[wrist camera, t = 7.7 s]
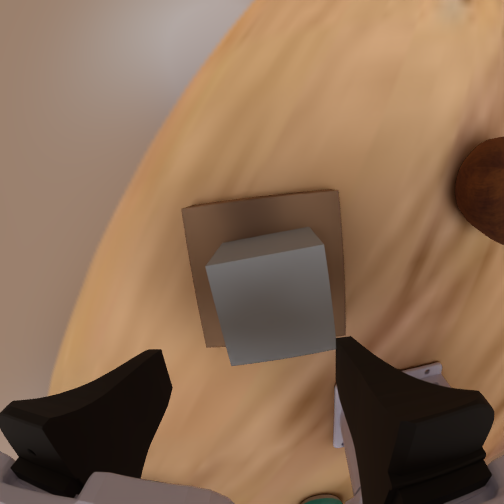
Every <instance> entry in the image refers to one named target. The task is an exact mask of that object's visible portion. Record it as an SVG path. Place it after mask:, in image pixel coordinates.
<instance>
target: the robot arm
mask: <svg viewBox="0 0 504 504" xmlns="http://www.w3.org/2000/svg"><path fill="white" fill-rule="evenodd" d="M426 370H428V371H426ZM425 371H426V372H425ZM441 371H442V365H441V364H440V363H439V362H437V363H433V364H429V365H425V366H421V367H416V368H412V369H408V370H403V371H400V370H398V369H396V368H394V367H393V366H391V365H389V364H388V363H386V362H384V361H383V360H381V359H380V358H378V357H377V356H375V355H374V354H373V353H371V352H370V351H369V350H367V349H366V348H365V347H364V346H362V345H361V344H360V343H359V342H357V341H356V340H355V339H354V338H352V337H351V336H349V337H341V338H336V385H335V387H334V431H333V446H334V447H335V448H341V447H344V448H345V453H346V458H347V463H348V468H349V473H350V478H351V483H352V489H353V494H354V497H353V498H351V499H350V500H348V501H346V502H345V503H346V504H504V455H502V456H500V457H498V458H496V459H495V460H493V461H492V462H491V463H490V464H489V465H488V466H487V465H486V464H485V461H484V460H483V459H485V457H486V453H485V451H484V449H483V448H482V446H483V444H484V442H485V440H486V438H487V436H488V434H489V432H490V429H491V427H492V424H493V421H494V410H493V408H492V407H491V405H490V404H489V403H488V401H487V400H486V399H485V398H484V396H483V395H482V394H481V393H480V392H479V391H474V390H463V389H455V388H451V387H450V385H449V384H448V383H447V381H446V380H445V378H444V377H443V376H442V374H441ZM172 388H173V387H172V384H171V381H170V378H169V374H168V371H167V368H166V364H165V361H164V357H163V354H162V350H161V349H149V350H146V351H144V352H142V353H141V354H139V355H137V356H136V357H134V358H132V359H131V360H129V361H127V362H126V363H124V364H122V365H121V366H119V367H118V368H116V369H114V370H112V371H111V372H109V373H107V374H105V375H103V376H102V377H100V378H98V379H96V380H94V381H92V382H90V383H88V384H85V385H83V386H80V387H78V388H75V389H72V390H69V391H66V392H63V393H60V394H56V395H52V396H48V397H43V398H37V399H30V400H19V401H12V402H11V403H10V404H9V405H8V406H7V407H6V408H5V409H4V410H3V411H2V412H1V413H0V429H1V431H2V432H3V434H4V436H5V437H6V439H7V440H8V442H9V443H10V445H11V446H12V447H13V449H14V450H15V452H16V453H17V455H18V456H19V458H18V459H17V460H16V461H15V460H14V459H13V458H11V457H10V456H8V455H6V454H4V453H2V452H1V451H0V504H234V503H233V502H232V501H231V500H230V499H229V498H228V497H226V496H224V495H221V494H219V493H217V492H215V491H212V490H209V489H204V488H199V487H194V486H189V485H179V484H171V483H164V482H157V481H151V480H145V479H140V478H141V474H142V470H143V466H144V463H145V459H146V456H147V452H148V449H149V447H150V444H151V442H152V440H153V438H154V435H155V433H156V431H157V429H158V427H159V424H160V422H161V420H162V418H163V416H164V413H165V411H166V409H167V406H168V403H169V400H170V396H171V392H172Z"/></svg>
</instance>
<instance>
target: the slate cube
mask: <svg viewBox="0 0 504 504" xmlns="http://www.w3.org/2000/svg"><path fill="white" fill-rule="evenodd" d="M205 267H206V271H207V275H208V279H209V283H210V287H211V291H212V295H213V299H214V303H215V307H216V311H217V315H218V319H219V322H220V326H221V330H222V334H223V337H224V341H225V345H226V348H227V352H228V355H229V359H230V362H231V366H236V365H244V364H252V363H259V362H266V361H273V360H279V359H285V358H291V357H297V356H303V355H308V354H314V353H319V352H324V351H329V350H334V349H336V334H335V325H334V316H333V307H332V299H331V291H330V283H329V275H328V268H327V261H326V254H325V248H324V244H323V243H322V241H321V240H320V239H319V238H318V237H317V235H316V234H315V233H314V232H313V231H312V229H311V228H310V227H305V228H299V229H294V230H288V231H283V232H278V233H272V234H267V235H262V236H256V237H251V238H246V239H241V240H235V241H230V242H225V243H222V244H221V246H220V247H219V248H218V250H217V251H216V252H215V254H214V255H213V256H212V258H211V259H210V260H209V262H208V263H207V265H206V266H205Z"/></svg>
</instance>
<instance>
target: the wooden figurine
mask: <svg viewBox="0 0 504 504" xmlns="http://www.w3.org/2000/svg"><path fill="white" fill-rule="evenodd" d="M455 196H456V200H457V205H458V207H459V209H460V211H461V212H462V214H463V215H464V216H465V218H466V219H467V221H468V222H469V223H471V224H472V225H473V226H474V227H475V228H477V229H478V230H479V231H481V232H482V233H483V234H485V235H486V236H488V237H489V238H490V239H492V240H494V241H496V242H498V243H500V244H503V245H504V137H499V138H494V139H489V140H486V141H484V142H483V143H481V144H479V145H478V146H477V147H476V148H475V149H474V150H473V151H472V152H471V153H470V154H469V156H468V157H467V158H466V159H465V160H464V161H463V163H462V165H461V167H460V169H459V171H458V176H457V180H456V188H455Z"/></svg>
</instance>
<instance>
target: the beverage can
mask: <svg viewBox="0 0 504 504" xmlns="http://www.w3.org/2000/svg"><path fill="white" fill-rule="evenodd" d="M302 504H343V503H342V502H341V501H340V499H339V498H338V497H336V496H334V495H317V496H313V497H310V498H308V499H306V500H305V501H304V502H303V503H302Z"/></svg>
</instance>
